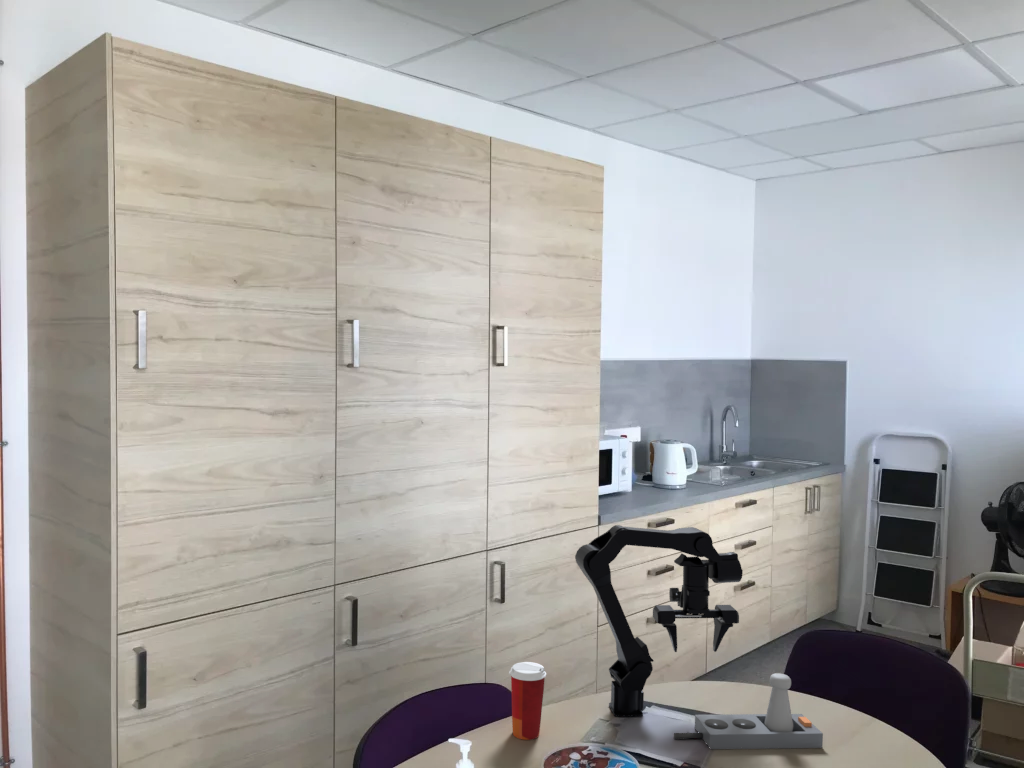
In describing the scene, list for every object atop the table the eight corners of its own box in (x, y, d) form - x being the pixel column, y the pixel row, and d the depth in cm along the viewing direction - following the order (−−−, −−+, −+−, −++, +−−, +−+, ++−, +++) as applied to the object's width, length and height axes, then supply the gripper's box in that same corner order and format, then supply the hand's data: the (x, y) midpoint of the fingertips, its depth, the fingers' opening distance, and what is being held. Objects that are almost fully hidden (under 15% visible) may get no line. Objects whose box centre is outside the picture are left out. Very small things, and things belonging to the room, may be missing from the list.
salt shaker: (790, 744, 165) (793, 682, 165) (762, 738, 168) (764, 677, 168) (794, 734, 171) (796, 673, 171) (766, 728, 173) (768, 668, 173)
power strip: (681, 749, 162) (681, 730, 162) (667, 728, 172) (668, 711, 172) (822, 747, 165) (823, 729, 165) (801, 727, 174) (801, 710, 174)
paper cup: (548, 729, 169) (550, 664, 169) (538, 745, 162) (540, 676, 162) (513, 723, 172) (516, 658, 172) (501, 738, 165) (504, 670, 164)
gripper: (724, 574, 192) (724, 639, 192) (647, 575, 191) (647, 640, 191) (740, 587, 181) (739, 655, 181) (658, 587, 180) (658, 656, 180)
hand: (695, 651), depth 183 cm, fingers open, 9 cm apart
